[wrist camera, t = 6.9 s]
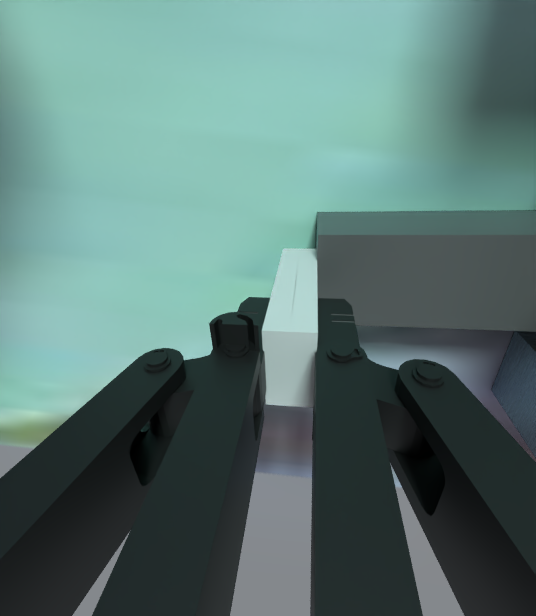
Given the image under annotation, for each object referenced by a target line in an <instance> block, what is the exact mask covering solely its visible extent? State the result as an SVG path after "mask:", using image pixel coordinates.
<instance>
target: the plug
mask: <svg viewBox="0 0 536 616" xmlns="http://www.w3.org/2000/svg"><path fill="white" fill-rule="evenodd" d="M316 249H317V294H318V298H333V299H345V300H346V301H347V302H348V303H349V304H350V305H351V306H352V310H353V316H354V320H355V325H359V326H388V327H417V328H445V329H474V330H503V331H532V332H536V210H512V211H401V212H317V236H316Z"/></svg>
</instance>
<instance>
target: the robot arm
mask: <svg viewBox="0 0 536 616" xmlns="http://www.w3.org/2000/svg"><path fill="white" fill-rule="evenodd" d="M209 325H210V332H211V338H212V345H213V350H212V352H211V354H210V355H208V356H205V357H201V358H196V359H190V360H184V359H183V356H182V354H181V353H180V352H179V351H177V350H174V349H169V348H162V349H155V350H152V351H150V352H147V353H145V354H143V355H142V356H140V357H139V358H138V359H136V360H135V361H134V362H133V363H132V364H131V365H129V366H128V367H127V368H126V369H125V370H124V371H123V372H121V373H120V374H119V375H118V376H117V377H116V378H115V379H113V380H112V381H111V382H110V383H109V384H108V385H107V386H105V387H104V388H103V389H102V390H101V391H100V392H99V393H97V394H96V395H95V396H94V397H93V398H92V399H91V400H89V401H88V402H87V403H86V404H85V405H84V406H83V407H81V408H80V409H79V410H78V411H77V412H76V413H75V414H73V415H72V416H71V417H70V418H69V419H68V420H67V421H65V422H64V423H63V424H62V425H61V426H60V427H59V428H57V429H56V430H55V431H54V432H53V433H52V434H51V435H49V436H48V437H47V438H46V439H45V440H44V441H43V442H41V443H40V444H39V445H38V446H37V447H36V448H35V449H34V450H32V451H31V452H30V453H29V454H28V455H27V456H25V457H24V458H23V459H22V460H21V461H20V462H19V463H17V464H16V465H15V466H14V467H13V468H12V469H11V470H10V471H8V472H7V473H6V474H5V475H4V476H3V477H1V478H0V616H72V615H73V613H74V612H75V611H76V609H77V608H78V606H79V605H80V603H81V602H82V600H83V599H84V597H85V596H86V594H87V593H88V591H89V590H90V588H91V587H92V585H93V584H94V583H95V581H96V580H97V578H98V577H99V575H100V574H101V572H102V571H103V570H104V568H105V567H106V565H107V564H108V562H109V560H110V559H111V558H112V556H113V555H114V553H115V552H116V550H117V549H118V548H119V546H120V545H121V543H122V542H123V540H124V539H125V537H126V536H127V534H128V533H129V531H130V530H131V531H130V533H129V535H128V538H127V540H126V542H125V544H124V546H123V549H122V551H121V553H120V555H119V557H118V560H117V562H116V564H115V566H114V568H113V571H112V573H111V575H110V577H109V579H108V582H107V584H106V586H105V588H104V591H103V593H102V595H101V597H100V599H99V602H98V604H97V606H96V608H95V610H94V612H93V615H92V616H230V611H231V606H232V600H233V594H234V589H235V582H236V577H237V571H238V565H239V560H240V553H241V548H242V542H243V537H244V531H245V525H246V519H247V514H248V508H249V502H250V496H251V491H252V484H253V479H254V473H255V468H256V462H257V456H258V450H259V445H260V439H261V433H262V427H263V421H264V410H263V405H264V400H265V398H266V404H267V405H281V406H295V407H309V408H313V409H314V410H313V432H312V440H313V456H312V532H311V533H312V534H311V535H312V536H311V538H312V539H311V607H310V609H311V610H310V614H311V615H310V616H423V615H422V610H421V605H420V600H419V596H418V591H417V587H416V582H415V577H414V572H413V568H412V563H411V558H410V555H409V549H408V545H407V540H406V535H405V531H404V526H403V521H402V517H401V512H400V508H399V503H398V498H397V493H396V489H395V484H394V479H393V475H392V470H391V465H392V467H393V469H394V471H395V473H396V475H397V477H398V479H399V482H400V484H401V486H402V488H403V490H404V492H405V494H406V496H407V498H408V500H409V502H410V504H411V506H412V508H413V510H414V512H415V514H416V517H417V519H418V521H419V523H420V525H421V527H422V529H423V531H424V533H425V535H426V537H427V539H428V541H429V543H430V545H431V547H432V550H433V552H434V554H435V556H436V558H437V560H438V562H439V564H440V566H441V568H442V570H443V572H444V574H445V576H446V578H447V580H448V582H449V585H450V586H451V588H452V591H453V593H454V595H455V597H456V599H457V601H458V603H459V605H460V607H461V609H462V611H463V613H464V615H465V616H536V462H535V461H534V460H533V459H532V458H531V457H530V456H529V455H528V454H527V452H526V451H525V450H524V449H523V448H522V447H521V446H520V445H519V444H518V443H517V442H516V441H515V439H514V438H513V437H512V436H511V435H510V434H509V433H508V432H507V431H506V430H505V429H504V427H503V426H502V425H501V424H500V423H499V422H498V421H497V420H496V419H495V418H494V417H493V415H492V414H491V413H490V412H489V411H488V410H487V409H486V408H485V407H484V406H483V405H482V403H481V402H480V401H479V400H478V399H477V398H476V397H475V396H474V395H473V394H472V393H471V392H470V390H469V389H468V388H467V387H466V386H465V385H464V384H463V383H462V382H461V381H460V380H459V378H458V377H457V376H456V375H455V374H454V373H453V372H451V371H450V370H449V369H448V368H446V367H444V366H442V365H440V364H438V363H436V362H432V361H428V360H420V359H413V360H410V361H406V362H404V363H403V364H402V365H401V366H400V368H399V370H396V369H392V368H388V367H385V366H382V365H379V364H376V363H375V362H373V361H371V360H369V359H368V358H367V355H366V353H365V351H364V350H363V349H362V348H361V347H360V345H359V340H358V335H357V330H356V325H355V320H354V316H353V310H352V306H351V305H350V304H349V303H348V302H347V301H346V300H345V299H333V298H318V294H317V249H289V248H283V251H282V255H281V259H280V263H279V267H278V270H277V274H276V278H275V282H274V286H273V289H272V293H271V297H270V298H259V297H249V298H247V299H246V300H245V301H244V302H242V303H241V304H240V307H239V309H238V312H230V313H226V314H222V315H220V316H218V317H216V318H214V319H213V320H212V321H211V322H210V323H209ZM390 463H391V465H390Z"/></svg>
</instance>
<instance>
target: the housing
mask: <svg viewBox="0 0 536 616" xmlns="http://www.w3.org/2000/svg"><path fill="white" fill-rule="evenodd" d="M492 392H493V393H494V395H495V396H496V398H497V399H498V401H499V403H500V404H501V406H502V407H503V409H504V410H505V412H506V413H507V415H508V416H509V418H510V419H511V421H512V422H513V424H514V426H515V427H516V429H517V430H518V432H519V433H520V435H521V436H522V438H523V439H524V441H525V442H526V444H527V445H528V447H529V448H530V450H531V452H532V453H533V455H534V456H535V458H536V332H532V331H515V332H514V334H513V337H512V339H511V342H510V344H509V347H508V349H507V352H506V354H505V357H504V359H503V362H502V364H501V367H500V369H499V372H498V374H497V377H496V379H495V382H494V385H493V387H492Z"/></svg>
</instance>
